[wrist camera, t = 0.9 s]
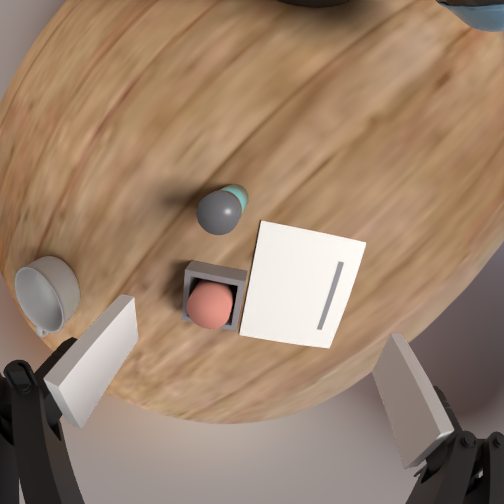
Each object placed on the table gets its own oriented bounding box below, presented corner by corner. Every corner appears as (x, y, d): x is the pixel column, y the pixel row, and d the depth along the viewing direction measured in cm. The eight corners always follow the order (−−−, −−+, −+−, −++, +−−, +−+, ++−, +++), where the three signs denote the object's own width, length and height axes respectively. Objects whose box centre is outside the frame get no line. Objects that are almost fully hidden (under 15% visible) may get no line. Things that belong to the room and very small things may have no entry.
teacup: (52, 236, 34) (18, 252, 26) (98, 279, 36) (67, 303, 28) (37, 293, 38) (11, 313, 30) (76, 331, 40) (53, 356, 32)
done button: (195, 274, 32) (187, 286, 29) (236, 282, 32) (232, 295, 29) (192, 309, 34) (185, 323, 31) (230, 317, 34) (226, 332, 31)
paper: (261, 220, 31) (261, 220, 31) (365, 242, 31) (366, 242, 31) (239, 333, 36) (239, 334, 36) (328, 347, 36) (329, 348, 36)
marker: (222, 180, 30) (199, 189, 21) (251, 185, 30) (242, 196, 21) (217, 209, 31) (194, 230, 22) (246, 215, 31) (235, 238, 22)
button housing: (192, 260, 33) (185, 269, 31) (247, 271, 33) (245, 281, 30) (187, 307, 36) (181, 319, 33) (238, 318, 36) (235, 331, 33)
